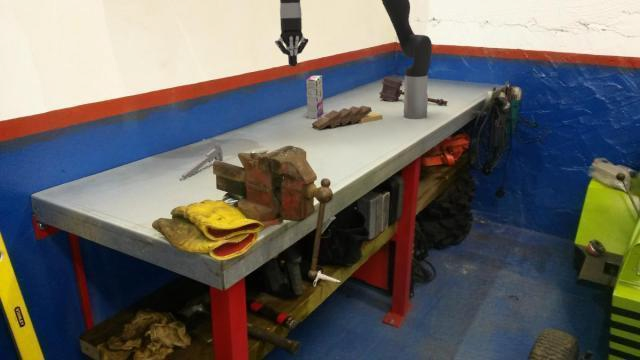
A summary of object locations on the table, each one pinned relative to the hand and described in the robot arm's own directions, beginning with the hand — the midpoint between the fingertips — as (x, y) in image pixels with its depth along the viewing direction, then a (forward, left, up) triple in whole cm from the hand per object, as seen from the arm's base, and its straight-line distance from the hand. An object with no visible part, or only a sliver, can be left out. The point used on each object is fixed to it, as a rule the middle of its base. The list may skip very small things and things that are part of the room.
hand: (292, 66), depth 186 cm
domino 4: (-21, -12, -24) cm, 34 cm away
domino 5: (-25, -15, -24) cm, 38 cm away
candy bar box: (-7, -28, -25) cm, 38 cm away
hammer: (-54, -50, -25) cm, 78 cm away
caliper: (+27, +42, -26) cm, 56 cm away
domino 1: (-8, -4, -24) cm, 26 cm away
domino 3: (-17, -10, -24) cm, 31 cm away
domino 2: (-12, -7, -24) cm, 28 cm away
